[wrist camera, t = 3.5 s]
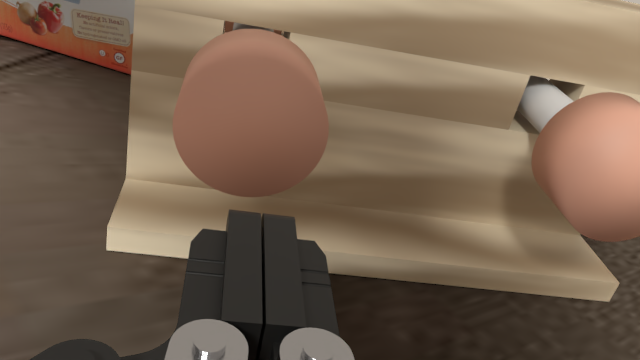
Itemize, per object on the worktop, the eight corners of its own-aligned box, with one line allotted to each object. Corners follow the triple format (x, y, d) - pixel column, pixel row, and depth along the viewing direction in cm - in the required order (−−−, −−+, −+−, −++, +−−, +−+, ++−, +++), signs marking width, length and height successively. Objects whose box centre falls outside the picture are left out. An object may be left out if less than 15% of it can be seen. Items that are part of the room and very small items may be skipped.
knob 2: (658, 248, 23) (726, 135, 21) (543, 234, 22) (600, 114, 20) (527, 116, 34) (562, 32, 32) (447, 102, 33) (477, 16, 31)
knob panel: (608, 301, 29) (755, 50, 23) (106, 250, 24) (117, -79, 18) (548, 222, 35) (650, 6, 29) (135, 169, 30) (151, -100, 24)
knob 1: (312, 205, 20) (343, 70, 18) (166, 187, 19) (179, 43, 17) (292, 77, 31) (310, -17, 29) (198, 62, 30) (209, -37, 28)
